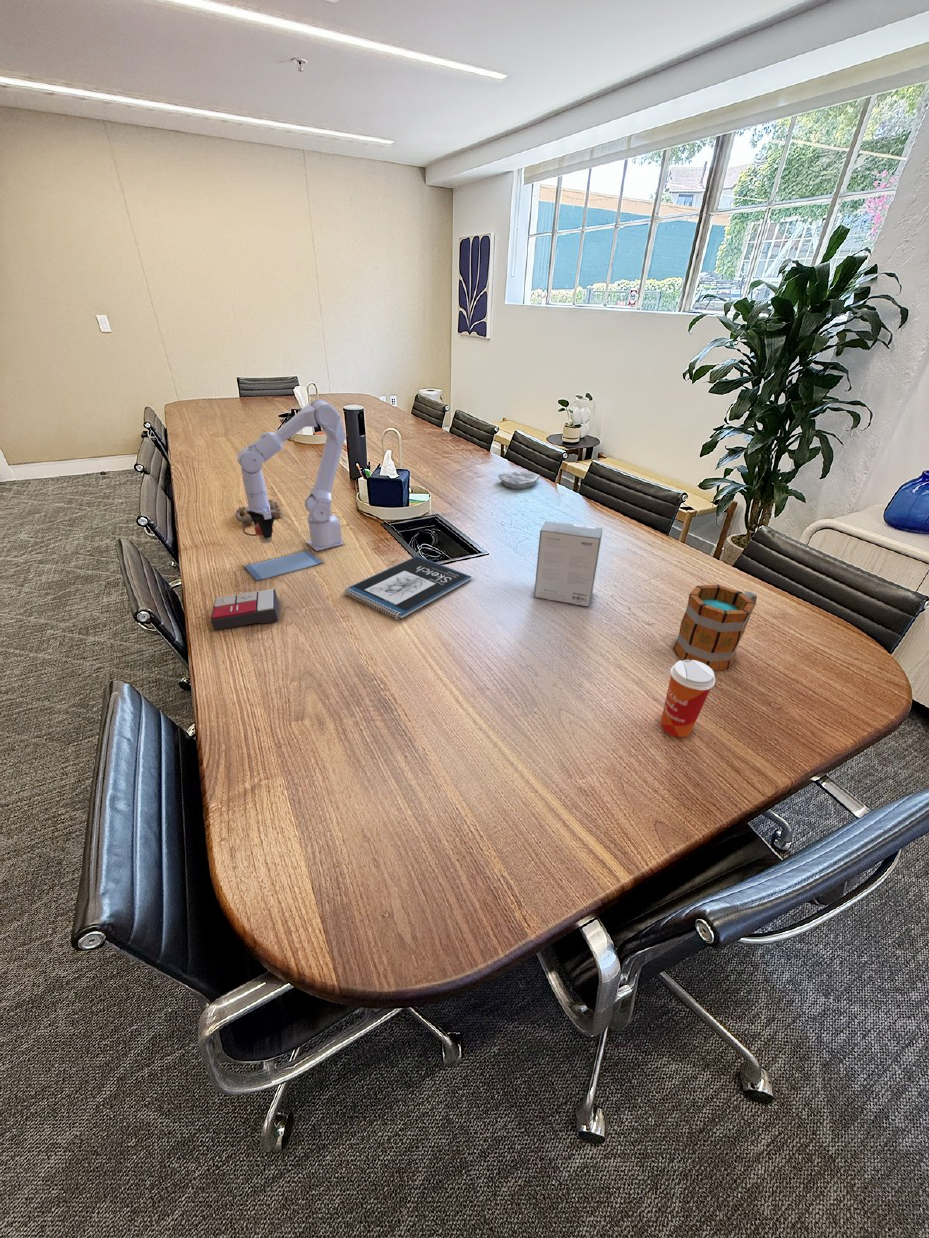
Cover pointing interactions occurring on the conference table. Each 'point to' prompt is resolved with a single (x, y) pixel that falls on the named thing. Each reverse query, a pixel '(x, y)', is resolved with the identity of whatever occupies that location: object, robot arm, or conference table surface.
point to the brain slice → (518, 479)
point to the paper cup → (686, 696)
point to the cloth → (282, 565)
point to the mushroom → (261, 537)
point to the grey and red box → (245, 609)
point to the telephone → (248, 520)
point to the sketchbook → (407, 586)
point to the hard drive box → (567, 562)
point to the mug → (714, 625)
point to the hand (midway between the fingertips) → (264, 534)
